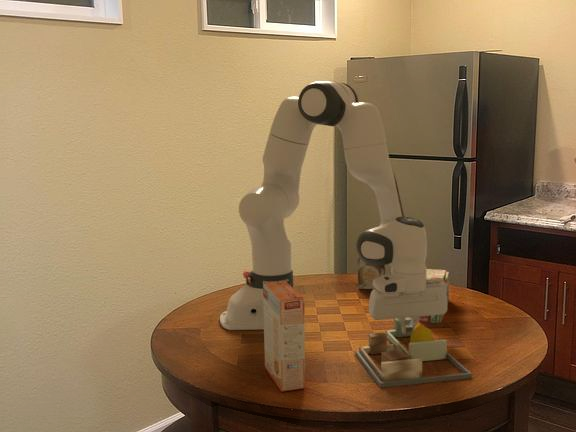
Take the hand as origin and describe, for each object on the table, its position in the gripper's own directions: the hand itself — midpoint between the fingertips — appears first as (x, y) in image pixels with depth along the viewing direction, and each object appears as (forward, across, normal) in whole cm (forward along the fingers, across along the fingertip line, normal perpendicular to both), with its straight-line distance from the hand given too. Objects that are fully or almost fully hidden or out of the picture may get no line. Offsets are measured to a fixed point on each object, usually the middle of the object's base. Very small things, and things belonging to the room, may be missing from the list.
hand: (408, 332), depth 163 cm
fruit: (+2, 0, +10) cm, 10 cm away
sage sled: (+2, 0, +4) cm, 5 cm away
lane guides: (+2, +5, +15) cm, 16 cm away
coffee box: (+2, -6, -48) cm, 49 cm away
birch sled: (+2, +10, +14) cm, 17 cm away
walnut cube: (+2, +10, +18) cm, 20 cm away
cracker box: (+2, +35, +15) cm, 38 cm away
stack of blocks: (+3, -16, -21) cm, 27 cm away
